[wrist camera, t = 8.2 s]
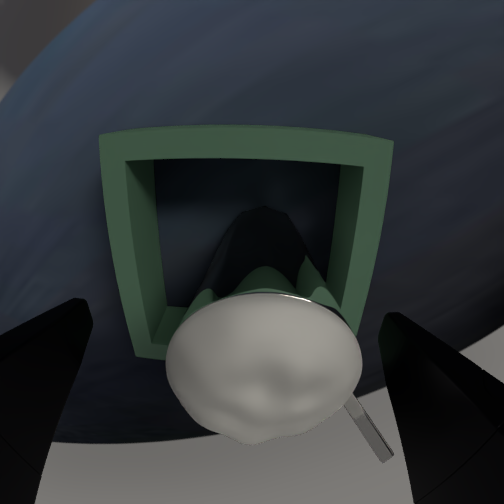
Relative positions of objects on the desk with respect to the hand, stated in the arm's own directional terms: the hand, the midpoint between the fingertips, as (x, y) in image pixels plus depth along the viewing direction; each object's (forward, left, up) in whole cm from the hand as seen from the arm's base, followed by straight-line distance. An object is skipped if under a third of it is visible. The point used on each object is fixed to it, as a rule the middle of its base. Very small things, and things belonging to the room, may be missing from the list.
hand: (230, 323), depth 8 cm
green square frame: (0, 0, -6) cm, 6 cm away
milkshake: (-1, 0, -6) cm, 6 cm away
